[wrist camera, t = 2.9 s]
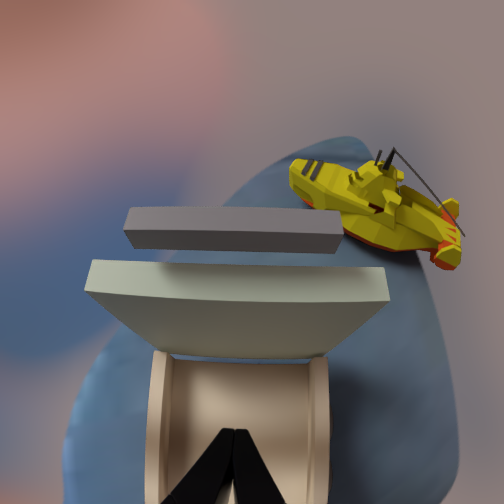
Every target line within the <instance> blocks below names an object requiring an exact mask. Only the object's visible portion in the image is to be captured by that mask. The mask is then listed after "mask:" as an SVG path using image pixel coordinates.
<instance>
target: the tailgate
mask: <svg viewBox="0 0 504 504" xmlns="http://www.w3.org/2000/svg"><path fill="white" fill-rule="evenodd" d="M123 230H124V232H125V234H126V236H127V237H128V239H129V241H130V242H131V244H132V246H133V247H134V249H167V250H169V249H170V250H206V251H246V252H285V253H325V254H335V252H336V250H337V248H338V246H339V244H340V242H341V240H342V238H343V235H344V232H343V226H342V221H341V216H340V211H333V210H314V209H292V208H263V207H131V208H130V210H129V213H128V216H127V219H126V222H125V225H124V228H123ZM84 291H85V292H86V293H87V294H89V295H90V296H91V297H92V298H93V299H94V300H96V301H97V302H98V303H99V304H100V305H101V306H103V307H104V308H105V309H106V310H107V311H109V312H110V313H111V314H112V315H114V316H115V317H116V318H117V319H118V320H120V321H121V322H122V323H123V324H125V325H126V326H127V327H129V328H130V329H131V330H133V331H134V332H135V333H136V334H138V335H139V336H140V337H142V338H143V339H145V340H146V341H147V342H149V343H150V344H151V345H153V346H154V347H156V348H157V349H158V350H160V351H162V352H168V353H170V354H179V355H191V356H203V357H219V358H241V359H313V358H314V357H322V356H324V355H325V354H326V353H328V352H329V351H330V350H332V349H333V348H334V347H336V346H337V345H338V344H339V343H341V342H342V341H343V340H344V339H346V338H347V337H348V336H349V335H351V334H352V333H353V332H354V331H356V330H357V329H358V328H359V327H360V326H362V325H363V324H364V323H365V322H366V321H368V320H369V319H370V318H371V317H372V316H373V315H375V314H376V313H377V312H378V311H379V310H380V309H381V308H383V307H384V306H385V305H386V304H387V303H388V302H389V301H390V297H389V291H388V286H387V280H386V275H385V270H384V267H315V266H267V265H228V264H195V263H166V262H140V261H115V260H93V261H92V265H91V268H90V271H89V275H88V278H87V282H86V286H85V289H84Z"/></svg>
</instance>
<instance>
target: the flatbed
mask: <svg viewBox="0 0 504 504" xmlns="http://www.w3.org/2000/svg"><path fill="white" fill-rule="evenodd" d="M222 428H233V429H237V428H238V429H247V430H248V431H249V433H250V435H251V437H252V439H253V441H254V443H255V445H256V447H257V449H258V451H259V453H260V455H261V457H262V459H263V461H264V463H265V465H266V467H267V469H268V470H269V472H270V474H271V476H272V478H273V480H274V482H275V484H276V485H277V487H278V489H279V491H280V493H281V494H282V496H283V498H284V500H285V503H287V504H327V502H328V493H329V492H330V490H331V487H332V478H333V475H332V465H331V461H330V459H329V444H330V440H331V437H332V433H333V413H332V408H331V405H330V403H329V380H328V358H327V357H314V358H313V359H312V360H311V361H310V362H309V363H307V364H239V363H218V362H203V361H191V360H180V359H175V358H173V357H172V356H171V355H170V354H169V353H168V352H162V351H154V356H153V364H152V373H151V382H150V392H149V403H148V416H147V431H146V452H145V504H160V503H161V502H162V501H163V500H164V499H165V498H166V497H167V496H168V494H170V492H171V491H172V490H173V489H174V488H175V486H176V485H177V484H178V483H179V482H180V481H181V479H182V478H183V477H184V476H185V475H186V473H187V472H188V471H189V470H190V468H191V467H192V466H193V465H194V464H195V462H196V461H197V460H198V459H199V457H200V456H201V455H202V453H203V452H204V451H205V450H206V448H207V447H208V446H209V444H210V443H211V442H212V441H213V439H214V438H215V437H216V435H217V434H218V433H219V431H220V430H221V429H222ZM170 495H171V494H170ZM228 504H235V502H234V492H233V483H232V489H231V493H230V498H229V502H228Z"/></svg>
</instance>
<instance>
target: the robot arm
mask: <svg viewBox="0 0 504 504" xmlns="http://www.w3.org/2000/svg"><path fill="white" fill-rule="evenodd" d="M232 483H233V492H234V502H235V504H287V503H285V500H284V498H283V496H282V494H281V493H280V491H279V489H278V487H277V485H276V484H275V482H274V480H273V478H272V476H271V474H270V472H269V470H268V469H267V467H266V465H265V463H264V461H263V459H262V457H261V455H260V453H259V451H258V449H257V447H256V445H255V443H254V441H253V439H252V437H251V435H250V433H249V431H248V430H247V429H238V428H237V429H233V428H222V429H221V430H220V431H219V433H218V434H217V435H216V437H215V438H214V439H213V441H212V442H211V443H210V444H209V446H208V447H207V448H206V450H205V451H204V452H203V453H202V455H201V456H200V457H199V459H198V460H197V461H196V462H195V464H194V465H193V466H192V467H191V468H190V470H189V471H188V472H187V473H186V475H185V476H184V477H183V478H182V479H181V481H180V482H179V483H178V484H177V485H176V486H175V488H174V489H173V490H172V491H171V492H170V494H171V495H170V494H168V496H167V497H166V498H165V499H164V500H163V501H162V502H161V503H160V504H228V502H229V498H230V493H231V489H232Z"/></svg>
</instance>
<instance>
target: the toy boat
mask: <svg viewBox="0 0 504 504" xmlns="http://www.w3.org/2000/svg"><path fill="white" fill-rule="evenodd" d="M381 153H382V150H379V153H378V156H377V158H376V161H369V162H367V163H366V164H364V165H363V166H361V167H360V168H358V172H355V171H352V170H349V169H347V168H344V167H341V166H339V165H337V164H333V163H327V162H323V161H321V160H319V161H314V159H309V160H306V159H298V158H297V159H296V160H295V161H293V163H292V165H291V166H290V168H289V182H290V186H291V188H292V189H293V191H294V192H295V193H296V194H297V195H298V196H299V197H300V198H301V199H302V200H303V201H304V202H305V203H307V204H308V205H309V206H310V207H312V208H313V209H314V210H333V211H340V216H341V221H342V226H343V231H344V232H345V233H346V234H348V235H350V236H352V237H354V238H356V239H358V240H360V241H362V242H364V243H366V244H368V245H370V246H373V247H377V248H380V249H383V250H387V251H390V252H399V251H411V250H422V251H428V252H431V253H430V261H431V262H433V263H434V262H435V265H436V266H437V267H439V268H441V269H444V270H454V269H455V268H456V267H457V266H458V265H459V264H460V261H461V241H460V232H461V233H462V235H463V236H464V237H465V234H464V233H463V231H462V230H461V229H460V227H459V226H458V224H457V223H456V221H455V219H456V218H457V217H458V216H459V202H458V201H456V200H454V199H453V198H450V199H448V200H446V201H444V202H442V203H441V202H440V200H439V199H438V198H437V197H436V195H435V194H434V193H433V191H432V190H431V189H430V188H429V187H428V185H427V184H426V183H425V182H424V181H423V179H422V178H421V177H420V176H419V175H418V174H417V173H416V171H414V169H413V168H412V167H411V166H410V165H409V164H408V163H407V161H406V160H405V159H404V158H403V157H402V156H401V155H400V154H399V153H398V152H397V151H396V150H395V148H394V147H393V149H392V150H391V152H390V154H389V156H388V158H387V159H386V161H383V160H382V161H381V162H378V161H379V158H380V156H381ZM395 153H396V154H397V155H398V156H399V157H400V158H401V159H402V160H403V161H404V162H405V163H406V164H407V166H408V167H409V168H410V169H411V170H412V171H413V172H414V173H415V175H416V176H417V177H418V178H419V179H420V180H421V181H422V183H423V184H424V185H425V186H426V187H427V188H428V189H429V191H430V192H431V193H432V195H433V196H434V197H435V198H436V200H437V201H438V202H439V203H440V205H439V207H437V206H436V205H435V204H434V203H433V202H432V201H431V200H429V199H428V198H426V197H425V196H423V195H422V194H420V193H419V192H417V191H415V190H414V189H411V188H410V187H407V186H406V185H402V186H400V187H398V185H397V181H400V182H401V181H402V180H403V179H404V173H403V172H401V171H399V170H397V169H396V168H395V167H394V166H393V165H391V162H392V159H393V156H394V154H395ZM399 189H400V194H399ZM456 226H457V227H458V229H459V230H458V229H457V228H456Z"/></svg>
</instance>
